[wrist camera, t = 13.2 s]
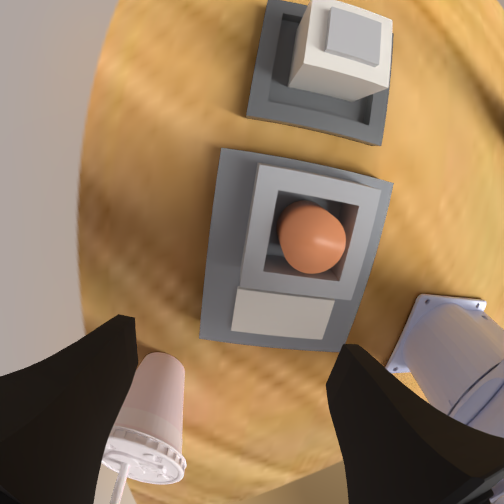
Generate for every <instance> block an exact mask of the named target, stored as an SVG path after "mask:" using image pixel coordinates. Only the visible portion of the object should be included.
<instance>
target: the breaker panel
mask: <svg viewBox="0 0 504 504" xmlns="http://www.w3.org/2000/svg"><path fill="white" fill-rule="evenodd" d="M393 184H394V183H391V182H387V181H384V180H380V179H377V178H373V177H369V176H365V175H361V174H357V173H353V172H349V171H345V170H341V169H337V168H332V167H328V166H323V165H319V164H314V163H309V162H304V161H299V160H294V159H289V158H284V157H278V156H272V155H267V154H260V153H254V152H248V151H241V150H234V149H227V148H221V153H220V160H219V167H218V173H217V180H216V188H215V195H214V202H213V210H212V218H211V226H210V234H209V243H208V251H207V260H206V270H205V279H204V289H203V300H202V311H201V322H200V334H199V339H206V340H213V341H220V342H227V343H235V344H243V345H252V346H261V347H271V348H282V349H294V350H308V351H325V352H340V350H341V347H342V345H343V344H345V342H346V340H347V337H348V335H349V332H350V330H351V327H352V324H353V322H354V319H355V316H356V313H357V311H358V308H359V305H360V302H361V299H362V296H363V293H364V290H365V287H366V284H367V281H368V278H369V275H370V272H371V269H372V265H373V262H374V259H375V255H376V252H377V248H378V245H379V241H380V238H381V234H382V230H383V226H384V222H385V218H386V214H387V210H388V206H389V202H390V197H391V193H392V188H393ZM302 200H307V201H312V202H315V203H317V204H319V205H320V206H321V207H323V208H324V209H325V210H327V211H328V212H329V213H330V214H332V215H333V216H334V217H335V218H336V219H337V220H338V221H339V222H340V223H341V225H342V226H343V228H344V231H345V235H346V245H345V249H344V252H343V254H342V256H341V258H340V260H339V261H338V262H337V263H336V264H335V265H334V266H333V267H331V268H330V269H328V270H326V271H324V272H321V273H316V274H308V273H303V272H300V271H298V270H296V269H295V268H293V267H292V266H291V265H290V264H289V263H288V262H287V260H286V258H285V256H284V254H283V251H282V248H281V245H280V242H279V239H278V236H277V231H276V225H277V220H278V218H279V216H280V214H281V212H282V211H283V210H284V209H285V208H286V207H287V206H288V205H290V204H292V203H294V202H297V201H302Z"/></svg>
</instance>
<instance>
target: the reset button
mask: <svg viewBox="0 0 504 504" xmlns="http://www.w3.org/2000/svg"><path fill="white" fill-rule="evenodd" d="M276 231H277V236H278V239H279V242H280V245H281V248H282V251H283V254H284V256H285V258H286V260H287V262H288V263H289V264H290V265H291V266H292V267H293V268H295V269H296V270H298V271H300V272H303V273H308V274H316V273H321V272H324V271H326V270H328V269H330V268H331V267H333V266H334V265H335V264H336V263H337V262H338V261H339V260H340V258H341V256H342V254H343V252H344V249H345V245H346V235H345V231H344V228H343V226H342V225H341V223H340V222H339V221H338V220H337V219H336V218H335V217H334V216H333V215H332V214H330V213H329V212H328V211H327V210H325V209H324V208H323V207H321V206H320V205H319V204H317V203H315V202H312V201H307V200H302V201H297V202H294V203H292V204H290V205H288V206H287V207H286V208H285V209H284V210H283V211H282V212H281V214H280V216H279V218H278V220H277V225H276Z"/></svg>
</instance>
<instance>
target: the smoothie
mask: <svg viewBox="0 0 504 504" xmlns="http://www.w3.org/2000/svg"><path fill="white" fill-rule="evenodd" d="M184 379H185V370H184V367H183V365H182V364H181V362H180V361H179V360H177V359H176V358H175V357H173V356H171V355H169V354H166V353H161V352H154V353H150V354H148V355H147V356H145V358H144V359H143V361H142V362H141V364H140V365H139V367H138V368H137V370H136V372H135V375H134V378H133V381H132V384H131V387H130V389H129V392H128V394H127V396H126V398H125V401H124V403H123V405H122V407H121V409H120V412H119V414H118V416H117V418H116V421H115V423H114V425H113V428H112V430H111V432H110V435H109V438H108V440H107V443H106V447H105V450H104V454H103V458H102V462H101V463H102V464H104V465H105V466H107V467H108V468H110V469H112V470H113V471H115V472H117V473H118V477H117V480H116V483H115V487H114V490H113V494H112V497H111V501H110V504H120V501H121V497H122V493H123V490H124V486H125V482H126V478H127V477H128V478H131V479H134V480H137V481H141V482H146V483H151V484H172V483H176V482H178V481H180V480H181V479H182V478H183V476H184V470H185V468H186V466H187V465H186V460H185V458H184V457H183V455H182V422H183V398H184Z"/></svg>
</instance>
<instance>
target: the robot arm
mask: <svg viewBox="0 0 504 504" xmlns="http://www.w3.org/2000/svg"><path fill="white" fill-rule="evenodd" d="M426 300H427V301H426ZM425 301H426V302H425ZM485 307H486V301H485V300H482V299H471V298H460V297H450V296H440V295H430V294H421V295H419V296H418V297H417V299H416V301H415V304H414V306H413V309H412V311H411V314H410V316H409V318H408V321H407V323H406V325H405V327H404V330H403V332H402V334H401V336H400V338H399V341H398V343H397V345H396V347H395V349H394V351H393V353H392V355H391V357H390V359H389V361H388V363H387V365H386V367H383V366H382V365H381V364H380V363H379V362H378V361H377V360H376V359H375V358H373V357H372V356H371V355H370V354H369V353H368V352H367V351H365V350H364V349H363V348H362V347H361V346H359V345H356V344H343V345H342V347H341V350H340V352H339V355H338V357H337V360H336V362H335V364H334V367H333V369H332V371H331V374H330V376H329V378H328V381H327V383H326V390H327V398H328V405H329V410H330V414H331V417H332V421H333V424H334V428H335V431H336V435H337V438H338V442H339V445H340V449H341V452H342V456H343V460H344V465H345V472H346V479H347V488H348V499H349V504H504V330H503V329H502V328H501V327H500V326H499V325H498V324H497V323H496V322H495V321H494V320H492V319H491V318H490V317H489V316H488V315H487V314H486V313H485V312H483V311H484V309H485ZM137 365H138V354H137V343H136V329H135V318H134V317H129V316H124V315H119V314H118V315H117V316H115V317H113V318H112V319H110V320H109V321H107V322H106V323H104V324H103V325H101V326H100V327H98V328H97V329H95V330H94V331H92V332H91V333H89V334H87V335H86V336H84V337H83V338H81V339H80V340H78V341H77V342H75V343H73V344H71V345H70V346H68V347H66V348H65V349H63V350H61V351H59V352H58V353H56V354H54V355H52V356H50V357H48V358H46V359H44V360H42V361H41V362H38V363H36V364H33V365H31V366H29V367H27V368H24V369H21V370H18V371H15V372H13V373H10V374H7V375H4V376H1V377H0V504H93V503H94V496H95V490H96V484H97V480H98V474H99V470H100V466H101V462H102V458H103V454H104V450H105V447H106V443H107V440H108V438H109V435H110V432H111V430H112V428H113V425H114V423H115V421H116V418H117V416H118V414H119V412H120V409H121V407H122V405H123V403H124V401H125V398H126V396H127V394H128V392H129V389H130V387H131V384H132V381H133V378H134V375H135V372H136V368H137ZM403 372H411V373H412V375H413V377H414V378H415V380H416V381H417V383H418V385H419V386H420V388H421V390H422V391H423V393H424V395H425V396H426V398H427V400H428V401H429V403H430V404H429V403H427V402H426V401H424V400H423V399H422V398H420V397H419V396H418V395H416V394H415V393H414V392H413V391H411V390H410V389H409V388H408V387H406V386H405V385H404V384H403V383H402V382H400V381H399V380H398V379H397V378H396V377H395V376H393V375H392V374H391V373H403Z"/></svg>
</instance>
